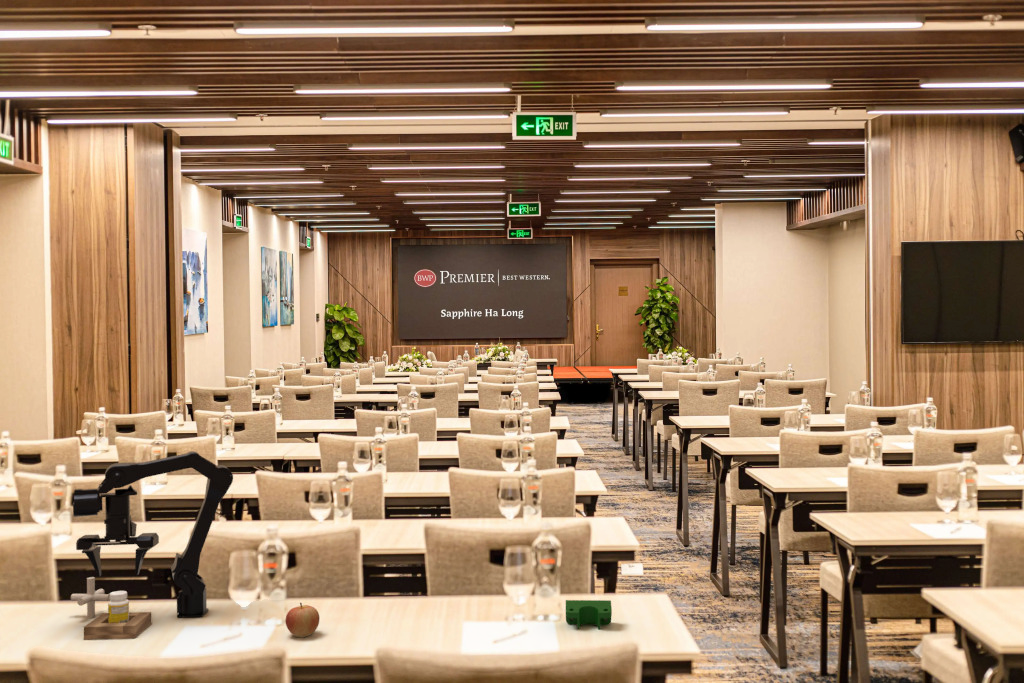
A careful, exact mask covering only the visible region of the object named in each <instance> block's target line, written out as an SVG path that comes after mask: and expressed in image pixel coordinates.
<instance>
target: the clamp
mask: <svg viewBox="0 0 1024 683" xmlns="http://www.w3.org/2000/svg"><path fill="white" fill-rule="evenodd" d="M612 610H613V609H612V600H605V599H604V600H599V599H598V600H597V599H596V600H595V599H594V600H591V599H590V600H588V599H587V600H586V599H585V600H584V599H583V600H581V599H580V600H579V599H578V600H577V599H575V600H574V599H572V600H571V599H570V600H569V599H566V600H565V622H566V623H567V624H568V626H569V625H570V626H572V625H576V630H580V628H581V627H580V626H587V625H588V626H589V625H590V626H591V625H592V626H593V625H594V626H597V630H601V626H608V625H610V624H611V623H612V616H613V615H612V614H613V613H612V612H613V611H612Z"/></svg>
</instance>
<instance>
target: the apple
mask: <svg viewBox="0 0 1024 683" xmlns="http://www.w3.org/2000/svg"><path fill="white" fill-rule="evenodd" d="M319 624H320V613H319V611H318V610H317V609H316V608H315V607H314V606H311V605H308V604H303V603H302V602H299V605H298V606H296V607H293V608H291V609H289V610H288V611H287V614H286V616H285V626H286V628H287V630H288V631H289V633H290V634H292V635H293V636H295V637H297V638H305V637H308V636H311V635H313V633H315V631H316V630H317V629H318V627H319Z"/></svg>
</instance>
